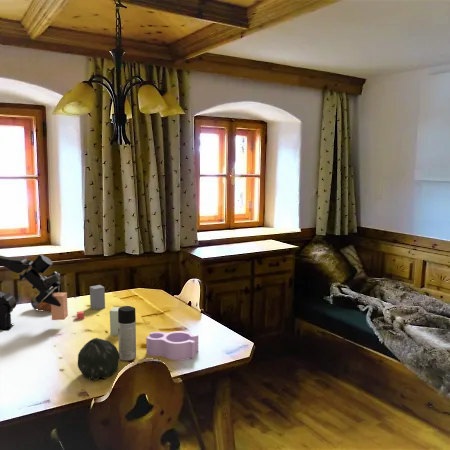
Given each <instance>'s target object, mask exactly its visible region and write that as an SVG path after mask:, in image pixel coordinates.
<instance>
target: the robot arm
mask: <svg viewBox="0 0 450 450" xmlns="http://www.w3.org/2000/svg"><path fill="white" fill-rule="evenodd" d="M52 265H53V261H52V260H51V259H50V258H49V257H47V256H45V255H43V254H42V253H41V254H39V255H38V256H37V257H36V259H34V260H28V259H27V258H26V257H19V256H17V257H16V256H15V257H12V256H10V257H9V256H5V255H4V256H3V255H0V267H4V268H6V269H7V270H9V271H10V272H13V273H16V274H18V276H19V281H20V282H21V281H23V280H24V279H25V280H26V281H27V282H28V284H30V285H31V288H32V289H35V290H37V292H39V293H38V294H39V295H38V296H37V297H36V298H35V301H36V302H38V303H40V302H41V301H42V300H43V299H44V300H43V301H42V302H45V303H49V304H52V305H55V306H59V307H60V306H61V304H60V303H59V301H58V300H57V299H56V298H55V297H54V295H53V294H54V293H61V291H60V286H61V285H60V284H61V281H60V280H62V278H61V274H60V273H59V272H57V271H53V272H51V275H50V276H48V277H47V276H46V275H42V274H44V273H45V272H46V271H47V270H48V269H49V268H50V267H52ZM22 272H23V273H22ZM16 306H17V299H16V296H13V295H12V294H11V292H9V291H7V292H6V293H5V292H2V291H0V329H10V328H11V327H13V326H14V325H12V324H13V323H12V318H11V316H12V312H13V310H14V309H15V308H16ZM10 330H11V329H10Z"/></svg>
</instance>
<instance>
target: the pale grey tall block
mask: <svg viewBox="0 0 450 450" xmlns="http://www.w3.org/2000/svg"><path fill="white" fill-rule="evenodd" d="M120 307H121V306H114V307H112V308H111V309H110V310H109V327H110V329H109V330H110V332H109V333H110V336H118V309H119V308H120Z"/></svg>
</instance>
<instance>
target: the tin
mask: <svg viewBox="0 0 450 450" xmlns="http://www.w3.org/2000/svg"><path fill="white" fill-rule="evenodd" d="M38 295H39V293H38V294H36V293H35V294H34V295H33V296H31V299H30V305H31V307H32V309H34V310H35V309H38V310H43V311H42V312H46V311H49V312H48V313H51V304H49V303H45V302H42V301H43V300H44V299H43V300H42V301H41V302H40V303H38V302H36V301H35V298H36V297H37V296H38Z"/></svg>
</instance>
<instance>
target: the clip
mask: <svg viewBox="0 0 450 450" xmlns="http://www.w3.org/2000/svg"><path fill="white" fill-rule="evenodd" d="M197 351H198V352H199V334H193V333H191V332H187V331H182V330H181V331H178V330H177V331H171V332H163V331H152V332H149V335H147V336H146V354H147V355H148V356H150V357H151V356H152V357H162V358H165V359H167V358H168V359H167V360H170V359H172V360H171V361H183V360H182V359H184V360H188V359H191V358H194V359H195V357H196V355H195V354H196V353H198V352H197ZM187 358H188V359H187Z"/></svg>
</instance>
